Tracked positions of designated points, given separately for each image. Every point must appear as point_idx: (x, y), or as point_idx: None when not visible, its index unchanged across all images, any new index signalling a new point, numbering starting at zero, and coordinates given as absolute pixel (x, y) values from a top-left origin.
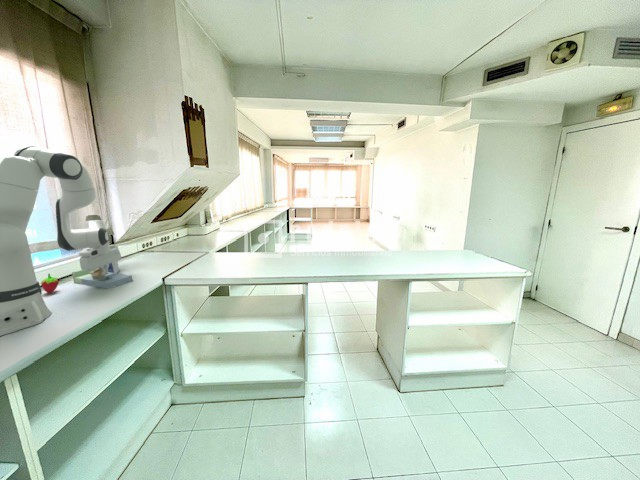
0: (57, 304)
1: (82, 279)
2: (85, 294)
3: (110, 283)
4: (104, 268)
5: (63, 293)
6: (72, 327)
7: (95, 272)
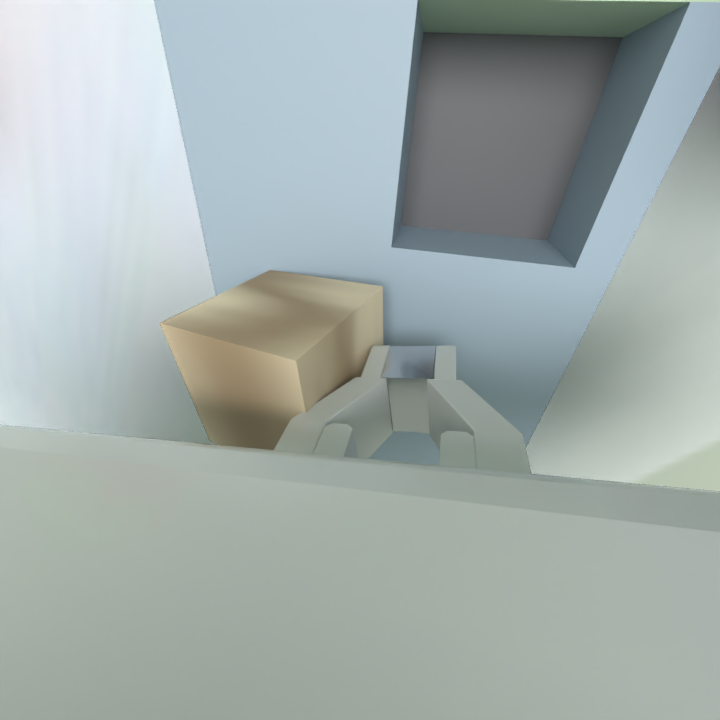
0: (14, 392)
1: (172, 61)
2: (152, 413)
3: None
4: (437, 404)
5: (19, 206)
6: None
7: (214, 434)
